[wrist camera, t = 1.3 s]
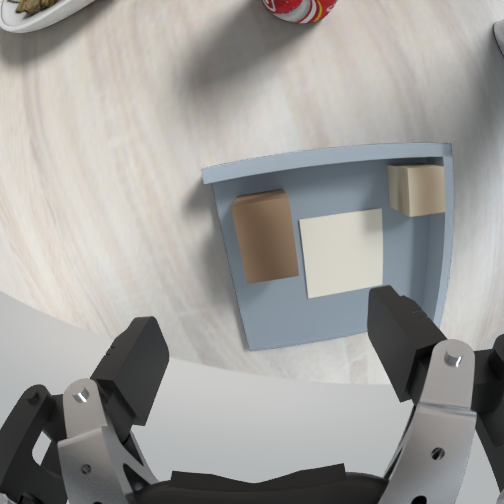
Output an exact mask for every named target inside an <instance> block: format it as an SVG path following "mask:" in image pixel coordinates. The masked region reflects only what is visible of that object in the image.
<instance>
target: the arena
mask: <svg viewBox="0 0 504 504" xmlns="http://www.w3.org/2000/svg"><path fill="white" fill-rule="evenodd" d="M412 163H424V164H431V165H437V166H443V167H444V179H445V212H442V213H435V214H428V215H420V216H413V217H409V216H407V215H405V214H403V213H401V212H399V211H397V210H395V209H393V208H391V207H390V200H389V185H388V174H387V165H395V164H412ZM201 172H202V177H203V182H204V184H208V183H212V188H213V193H214V197H215V202H216V207H217V212H218V216H219V221H220V225H221V230H222V235H223V239H224V244H225V248H226V253H227V257H228V261H229V266H230V270H231V275H232V279H233V283H234V287H235V292H236V296H237V300H238V304H239V309H240V313H241V317H242V321H243V325H244V329H245V333H246V337H247V341H248V345H249V349H250V351H257V350H265V349H273V348H280V347H287V346H294V345H301V344H307V343H313V342H319V341H324V340H329V339H335V338H340V337H345V336H350V335H354V334H359V333H363V332H368V331H367V316H368V298H369V290H370V289H371V288H376V287H381V286H386V285H391V286H392V288H393V289H394V290H395V291H396V292H397V293H398V294H399V296H402V295H405V296H406V297H408V298H410V299H412V300H414V301H415V302H416V303H417V304H418V305H419V306H420V307H421V308H422V311H424V312H425V313H426V314H427V315H428V317H429V318H430V319H431V320H432V321H433V322H434V324H435V325H436V326H437V327H438V328H440V323H441V319H442V314H443V309H444V304H445V299H446V293H447V287H448V280H449V273H450V265H451V255H452V244H453V228H454V175H453V159H452V148H451V144H450V143H389V144H370V145H355V146H343V147H332V148H323V149H314V150H305V151H298V152H290V153H283V154H276V155H270V156H264V157H258V158H252V159H246V160H241V161H236V162H230V163H225V164H220V165H215V166H211V167H207V168H203V169H201ZM282 188H283V189H284V191H285V193H286V194H287V196H288V197H289V204H290V210H291V217H292V224H293V231H294V239H295V246H296V254H297V262H298V270H299V276H296V277H290V278H284V279H277V280H271V281H264V282H257V283H250V284H247V281H246V276H245V271H244V267H243V262H242V257H241V252H240V247H239V242H238V238H237V233H236V228H235V223H234V218H233V213H232V208H231V207H232V205H233V203H234V201H235V199H236V198H237V196H240V195H246V194H252V193H258V192H264V191H270V190H276V189H282Z"/></svg>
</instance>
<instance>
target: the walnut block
mask: <svg viewBox="0 0 504 504" xmlns="http://www.w3.org/2000/svg"><path fill="white" fill-rule="evenodd" d="M231 208H232V213H233V218H234V223H235V228H236V233H237V238H238V242H239V247H240V252H241V257H242V262H243V267H244V271H245V276H246V281H247V284H250V283H257V282H264V281H271V280H277V279H284V278H290V277H296V276H299V270H298V262H297V254H296V246H295V239H294V231H293V224H292V217H291V210H290V204H289V197H288V196H287V194H286V193H285V191H284V189H283V188H282V189H276V190H270V191H264V192H258V193H252V194H246V195H240V196H237V198H236V199H235V201H234V203H233V205H232V207H231Z"/></svg>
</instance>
